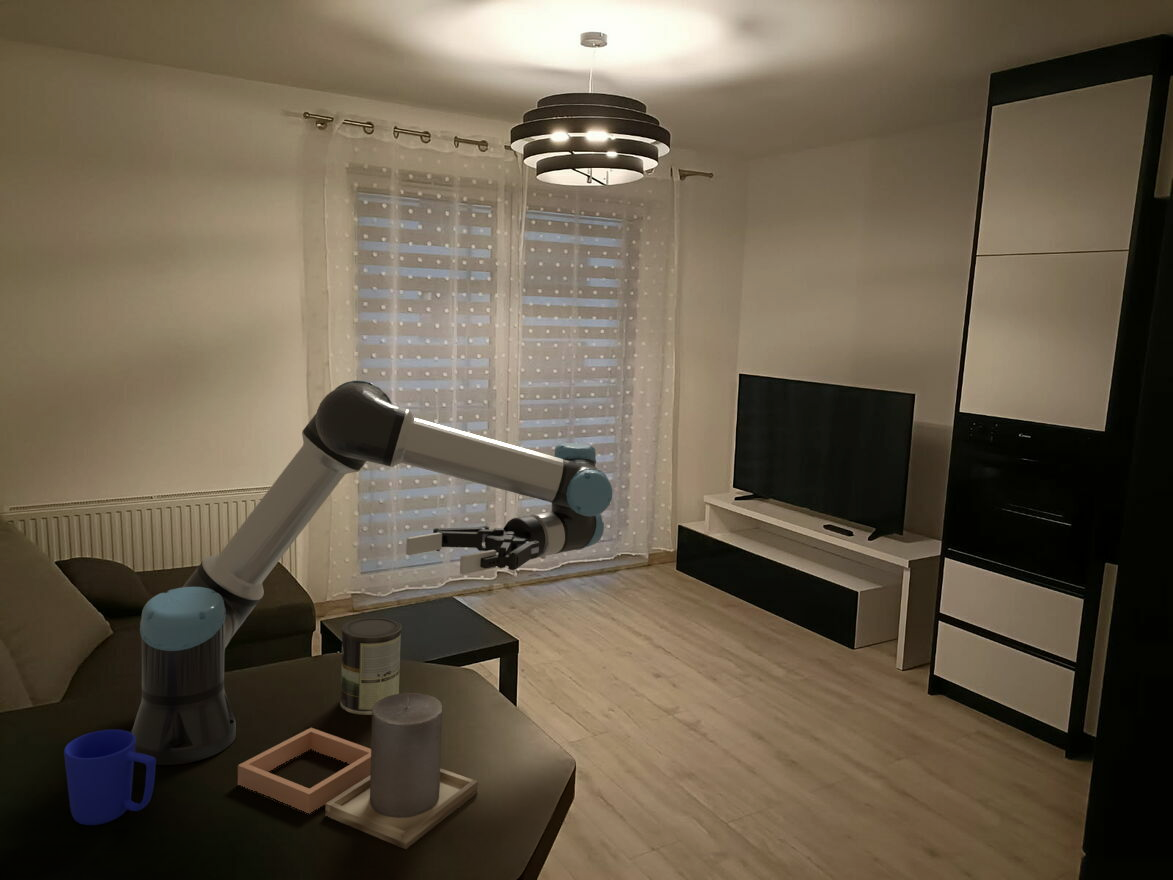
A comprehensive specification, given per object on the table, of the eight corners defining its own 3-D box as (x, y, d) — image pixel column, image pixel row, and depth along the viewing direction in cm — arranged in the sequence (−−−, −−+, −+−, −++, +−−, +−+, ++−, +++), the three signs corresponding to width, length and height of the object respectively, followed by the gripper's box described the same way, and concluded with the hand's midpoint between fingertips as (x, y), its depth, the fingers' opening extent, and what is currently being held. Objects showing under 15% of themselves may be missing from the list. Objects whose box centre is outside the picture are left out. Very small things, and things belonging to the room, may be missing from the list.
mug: (130, 842, 106) (130, 768, 105) (50, 826, 108) (48, 753, 107) (174, 807, 114) (174, 738, 113) (98, 793, 116) (97, 725, 115)
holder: (237, 784, 120) (237, 765, 120) (310, 745, 133) (311, 727, 132) (308, 814, 114) (309, 794, 114) (378, 770, 126) (379, 751, 126)
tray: (325, 815, 114) (325, 803, 114) (401, 765, 128) (402, 754, 128) (405, 849, 108) (406, 836, 107) (477, 793, 122) (477, 781, 122)
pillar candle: (380, 778, 123) (382, 681, 121) (446, 782, 123) (449, 685, 121) (360, 816, 113) (362, 712, 111) (432, 821, 113) (435, 716, 111)
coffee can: (329, 711, 145) (331, 633, 143) (354, 687, 155) (356, 614, 153) (386, 718, 143) (389, 639, 142) (407, 693, 153) (410, 620, 152)
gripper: (583, 574, 137) (485, 599, 121) (484, 543, 154) (386, 561, 138) (586, 529, 136) (487, 549, 121) (486, 503, 153) (388, 517, 137)
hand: (433, 555), depth 129 cm, fingers open, 13 cm apart
